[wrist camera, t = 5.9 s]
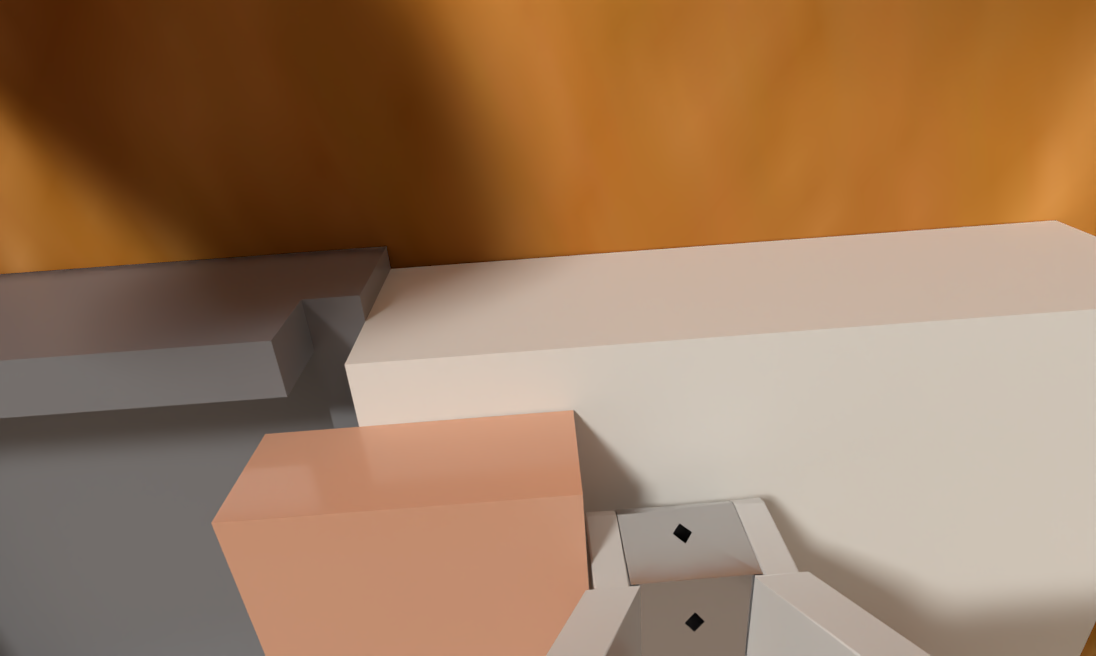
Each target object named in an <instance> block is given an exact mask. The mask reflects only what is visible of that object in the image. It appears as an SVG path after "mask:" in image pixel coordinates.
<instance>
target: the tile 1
mask: <svg viewBox="0 0 1096 656" xmlns="http://www.w3.org/2000/svg"><path fill="white" fill-rule="evenodd" d="M211 524H212V526H213V529H214V531H215V534H216V536H217V539H218V541H219V543H220V546H221V548H222V551H223V553H224V556H225V558H226V561H227V563H228V565H229V568H230V570H231V573H232V575H233V578H234V580H235V583H236V585H237V587H238V590H239V592H240V595H241V597H242V600H243V602H244V604H245V607H246V609H247V612H248V614H249V617H250V619H251V622H252V624H253V626H254V629H255V631H256V634H257V636H258V639H259V641H260V644H261V646H262V648H263V651H264V653H265V656H546V655H547V653H548V651H549V650H550V648H551V646H552V645H553V643H554V642H555V640H556V638H557V637H558V635H559V633H560V632H561V630H562V628H563V627H564V625H565V623H566V622H567V620H568V618H569V617H570V615H571V614H572V612H573V610H574V609H575V607H576V605H577V604H578V602H579V600H580V599H581V597H582V595H583V594H584V592H585V590H589V585H588V569H587V553H586V537H585V522H584V506H583V492H582V483H581V474H580V465H579V457H578V448H577V439H576V430H575V421H574V412H573V410H569V411H556V412H543V413H530V414H517V415H504V416H491V417H479V418H466V419H453V420H440V421H427V422H414V423H401V424H388V425H375V426H363V427H350V428H337V429H324V430H311V431H298V432H285V433H272V434H265V435H264V437H263V438H262V440H261V442H260V443H259V445H258V447H257V448H256V450H255V452H254V453H253V455H252V457H251V458H250V460H249V461H248V463H247V465H246V466H245V468H244V470H243V471H242V473H241V475H240V476H239V478H238V480H237V481H236V483H235V485H234V486H233V488H232V489H231V491H230V493H229V494H228V496H227V498H226V499H225V501H224V503H223V504H222V506H221V508H220V509H219V511H218V513H217V514H216V516H215V517H214V519H213V521H212V522H211Z"/></svg>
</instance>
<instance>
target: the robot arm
mask: <svg viewBox="0 0 1096 656" xmlns="http://www.w3.org/2000/svg"><path fill="white" fill-rule="evenodd" d="M585 529H586V546H587V563H588V576H589V590H585V592H584V594H583V595H582V597H581V599H580V600H579V602H578V604H577V605H576V607H575V609H574V610H573V612H572V614H571V615H570V617H569V618H568V620H567V622H566V623H565V625H564V627H563V628H562V630H561V632H560V633H559V635H558V637H557V638H556V640H555V642H554V643H553V645H552V646H551V648H550V650H549V651H548V653H547V655H546V656H931V655H929V654H928V653H926V652H925V651H923V650H922V649H921V648H919V647H918V646H916V645H915V644H913V643H912V642H910V641H909V640H907V639H906V638H905V637H903V636H902V635H900V634H899V633H897V632H896V631H894V630H893V629H891V628H890V627H889V626H887V625H886V624H884V623H883V622H881V621H880V620H878V619H877V618H875V617H874V616H873V615H871V614H870V613H868V612H867V611H865V610H864V609H862V608H861V607H859V606H858V605H857V604H855V603H854V602H852V601H851V600H849V599H848V598H846V597H845V596H843V595H842V594H841V593H839V592H838V591H836V590H835V589H833V588H832V587H830V586H829V585H828V584H826V583H825V582H823V581H822V580H820V579H819V578H817V577H816V576H814V575H813V574H812V573H810V572H799V570H798V568H797V566H796V564H795V562H794V560H793V558H792V556H791V554H790V552H789V550H788V548H787V546H786V544H785V542H784V540H783V538H782V536H781V534H780V532H779V530H778V528H777V526H776V524H775V522H774V520H773V518H772V516H771V514H770V512H769V510H768V508H767V506H766V504H765V502H764V501H763V500H762V499H761V498H748V499H738V500H730V501H720V502H710V503H699V504H688V505H677V506H667V507H651V508H634V509H617V510H615V511H614V510H613V511H594V512H585Z"/></svg>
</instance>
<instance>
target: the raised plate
mask: <svg viewBox="0 0 1096 656" xmlns="http://www.w3.org/2000/svg"><path fill="white" fill-rule="evenodd" d="M345 369H346V373H347V377H348V382H349V386H350V390H351V394H352V398H353V403H354V407H355V411H356V415H357V420H358V424H359V427H363V426H375V425H388V424H401V423H414V422H427V421H440V420H453V419H466V418H479V417H491V416H504V415H517V414H530V413H543V412H556V411H569V410H573V412H574V421H575V430H576V439H577V448H578V457H579V465H580V474H581V483H582V492H583V506H584V522H585V512H594V511H613V510H614V511H615V510H617V509H634V508H651V507H667V506H677V505H688V504H699V503H710V502H720V501H730V500H738V499H748V498H761V499H762V500H763V501H764V502H765V504H766V506H767V508H768V510H769V512H770V514H771V516H772V518H773V520H774V522H775V524H776V526H777V528H778V530H779V532H780V534H781V536H782V538H783V540H784V542H785V544H786V546H787V548H788V550H789V552H790V554H791V556H792V558H793V560H794V562H795V564H796V566H797V568H798V570H799V572H810V573H812V574H813V575H814V576H816V577H817V578H819V579H820V580H822V581H823V582H825V583H826V584H828V585H829V586H830V587H832V588H833V589H835V590H836V591H838V592H839V593H841V594H842V595H843V596H845V597H846V598H848V599H849V600H851V601H852V602H854V603H855V604H857V605H858V606H859V607H861V608H862V609H864V610H865V611H867V612H868V613H870V614H871V615H873V616H874V617H875V618H877V619H878V620H880V621H881V622H883V623H884V624H886V625H887V626H889V627H890V628H891V629H893V630H894V631H896V632H897V633H899V634H900V635H902V636H903V637H905V638H906V639H907V640H909V641H910V642H912V643H913V644H915V645H916V646H918V647H919V648H921V649H922V650H923V651H925V652H926V653H928V654H929V655H931V656H1080V654H1081V652H1082V650H1083V648H1084V646H1085V644H1086V641H1087V639H1088V637H1089V635H1090V633H1091V631H1092V629H1093V626H1094V624H1095V622H1096V236H1093V235H1091V234H1088V233H1086V232H1083V231H1081V230H1078V229H1076V228H1073V227H1071V226H1068V225H1066V224H1063V223H1061V222H1059V221H1056V220H1054V221H1040V222H1027V223H1013V224H999V225H986V226H972V227H958V228H944V229H931V230H917V231H903V232H890V233H876V234H862V235H848V236H835V237H821V238H807V239H794V240H780V241H766V242H752V243H739V244H725V245H711V246H698V247H684V248H670V249H657V250H643V251H629V252H615V253H602V254H588V255H574V256H561V257H547V258H533V259H519V260H506V261H492V262H478V263H465V264H451V265H437V266H424V267H410V268H396V269H391V270H390V272H389V274H388V276H387V278H386V280H385V282H384V284H383V286H382V288H381V290H380V292H379V294H378V296H377V299H376V301H375V303H374V305H373V307H372V309H371V311H370V313H369V315H368V317H367V319H366V321H365V323H364V325H363V327H362V330H361V332H360V334H359V336H358V338H357V340H356V342H355V344H354V346H353V348H352V350H351V352H350V354H349V356H348V358H347V361H346V363H345ZM585 537H586V529H585ZM586 553H587V546H586ZM587 569H588V563H587ZM588 585H589V576H588Z"/></svg>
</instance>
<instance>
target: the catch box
mask: <svg viewBox="0 0 1096 656" xmlns="http://www.w3.org/2000/svg"><path fill="white" fill-rule="evenodd" d="M390 270H391V267H390V262H389V256H388V251H387V246H382V247H369V248H355V249H341V250H327V251H314V252H300V253H286V254H272V255H259V256H245V257H231V258H217V259H204V260H190V261H176V262H162V263H149V264H135V265H121V266H107V267H94V268H80V269H66V270H52V271H39V272H25V273H11V274H0V656H265V653H264V651H263V648H262V646H261V644H260V641H259V639H258V636H257V634H256V631H255V629H254V626H253V624H252V622H251V619H250V617H249V614H248V612H247V609H246V607H245V604H244V602H243V600H242V597H241V595H240V592H239V590H238V587H237V585H236V583H235V580H234V578H233V575H232V573H231V570H230V568H229V565H228V563H227V561H226V558H225V556H224V553H223V551H222V548H221V546H220V543H219V541H218V539H217V536H216V534H215V531H214V529H213V526H212V524H211V522H212V521H213V519H214V517H215V516H216V514H217V513H218V511H219V509H220V508H221V506H222V504H223V503H224V501H225V499H226V498H227V496H228V494H229V493H230V491H231V489H232V488H233V486H234V485H235V483H236V481H237V480H238V478H239V476H240V475H241V473H242V471H243V470H244V468H245V466H246V465H247V463H248V461H249V460H250V458H251V457H252V455H253V453H254V452H255V450H256V448H257V447H258V445H259V443H260V442H261V440H262V438H263V437H264V435H265V434H272V433H285V432H298V431H311V430H324V429H337V428H350V427H359V424H358V420H357V415H356V411H355V407H354V403H353V398H352V394H351V390H350V386H349V382H348V377H347V373H346V369H345V363H346V361H347V358H348V356H349V354H350V352H351V350H352V348H353V346H354V344H355V342H356V340H357V338H358V336H359V334H360V332H361V330H362V327H363V325H364V323H365V321H366V319H367V317H368V315H369V313H370V311H371V309H372V307H373V305H374V303H375V301H376V299H377V296H378V294H379V292H380V290H381V288H382V286H383V284H384V282H385V280H386V278H387V276H388V274H389V272H390Z"/></svg>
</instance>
